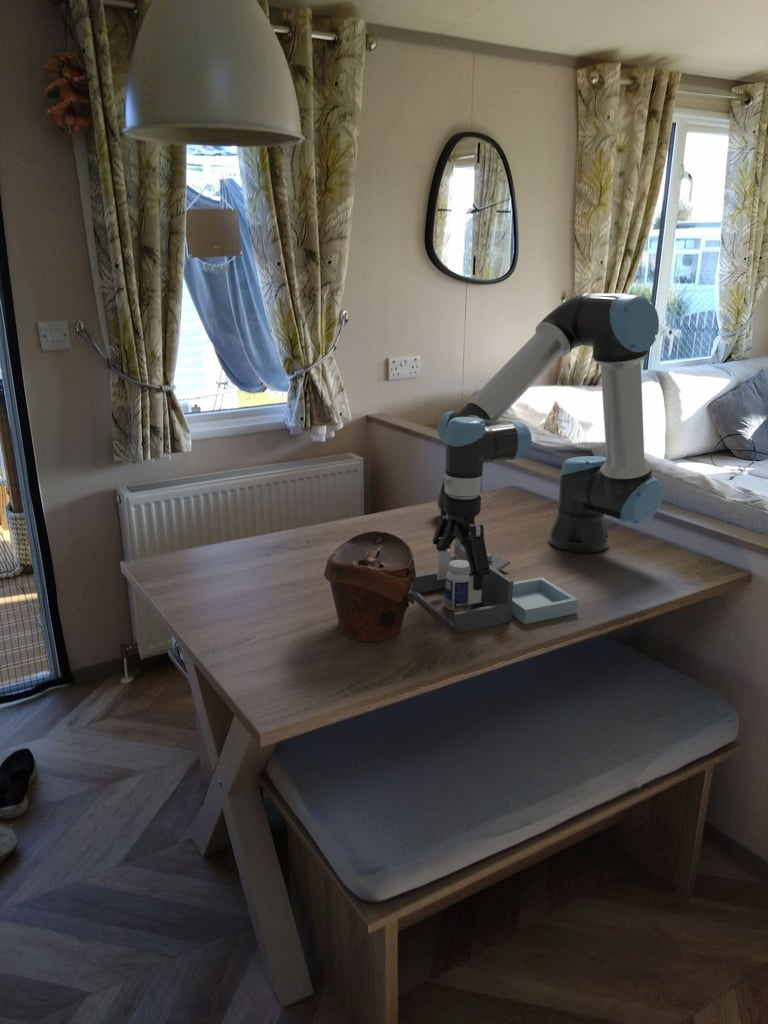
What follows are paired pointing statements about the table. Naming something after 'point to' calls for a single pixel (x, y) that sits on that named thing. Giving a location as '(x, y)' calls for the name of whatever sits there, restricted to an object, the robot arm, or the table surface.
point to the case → (371, 585)
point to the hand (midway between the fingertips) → (458, 590)
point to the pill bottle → (457, 586)
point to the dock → (493, 597)
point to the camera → (492, 559)
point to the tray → (541, 601)
